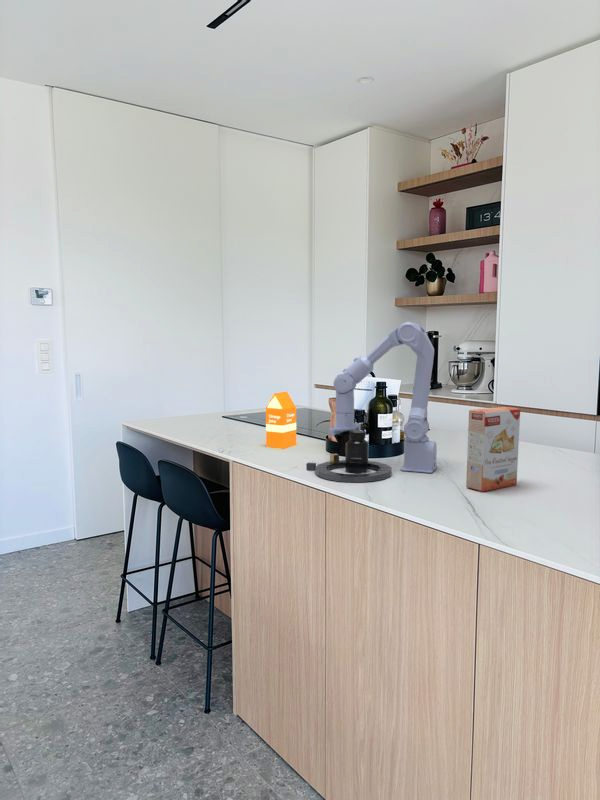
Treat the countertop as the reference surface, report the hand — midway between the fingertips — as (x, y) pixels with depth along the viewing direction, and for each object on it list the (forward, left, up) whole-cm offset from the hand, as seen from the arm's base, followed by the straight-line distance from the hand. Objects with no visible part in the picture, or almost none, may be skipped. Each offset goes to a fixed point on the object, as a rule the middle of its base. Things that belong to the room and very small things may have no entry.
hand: (344, 455), depth 183 cm
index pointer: (+7, +11, -3) cm, 13 cm away
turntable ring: (-6, +11, -3) cm, 13 cm away
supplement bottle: (-6, +7, -3) cm, 10 cm away
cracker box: (-45, +12, -3) cm, 47 cm away
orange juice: (+32, -21, -3) cm, 38 cm away
